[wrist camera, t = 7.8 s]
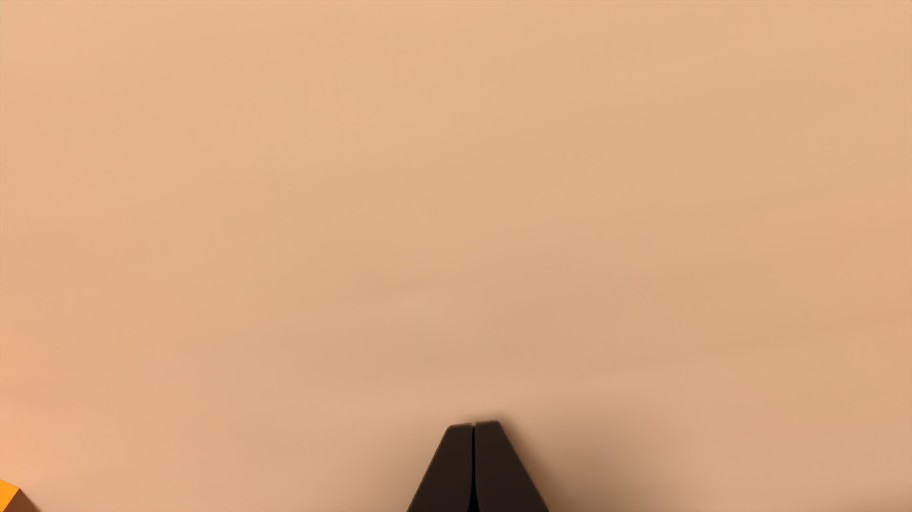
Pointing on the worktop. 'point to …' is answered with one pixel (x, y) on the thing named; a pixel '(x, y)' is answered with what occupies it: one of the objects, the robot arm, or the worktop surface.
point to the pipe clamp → (6, 493)
